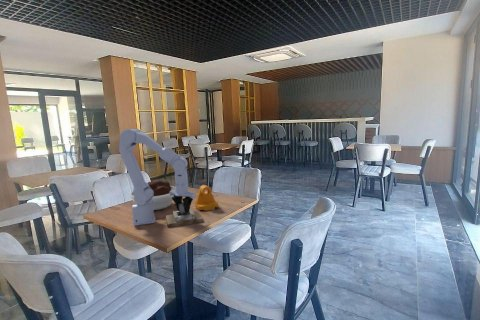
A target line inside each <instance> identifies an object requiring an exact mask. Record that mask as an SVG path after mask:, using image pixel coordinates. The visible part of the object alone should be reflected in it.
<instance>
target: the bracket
mask: <svg viewBox="0 0 480 320" xmlns="http://www.w3.org/2000/svg"><path fill="white" fill-rule="evenodd" d="M194 205H195V208H196V209H197V210H198V211H210V210H215V208H218V207H219V202H218V201H216V200H215V198H214V196H213V193H212V188H211V187H209V186H208V185H207V184H202V185H201V186H199V190H198V192H197V195H196V198H195V203H194Z"/></svg>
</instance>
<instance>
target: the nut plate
mask: <svg viewBox="0 0 480 320" xmlns="http://www.w3.org/2000/svg"><path fill="white" fill-rule="evenodd" d="M165 221H166V225H167V228H174V227H179V226H186V225H191V224H199V223H203V222H204V217H202V214H201V213H200V210H195V211H194V210H193V208H190V211H189V212H188V215H182V216H179V211H178V210H175V211H174V210H173V211H172V214H167V215H165Z"/></svg>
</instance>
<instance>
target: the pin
mask: <svg viewBox="0 0 480 320" xmlns="http://www.w3.org/2000/svg"><path fill="white" fill-rule="evenodd" d="M178 204H179V216H182V215H188V212H187V213H186V212H185V206H184V203H183V201H182V202H180V203H178Z"/></svg>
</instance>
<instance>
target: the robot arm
mask: <svg viewBox="0 0 480 320" xmlns="http://www.w3.org/2000/svg"><path fill="white" fill-rule="evenodd" d="M118 138H119V147H118V151H119V155H120V156H121V159H122V161H123V163H124V166H125V168H126V170H127V173H128V175H129V178H130V180H131V183H132V185H133V188H132V192H133V193H134V201H135V202H134V201H133V202H134V203H135V204H132V207H131V208H132V209H131V211H132V222H133V226H134V227H135V226H141V225H149V224H154V223H156V216H155V210H153V201H152V198H153V196H154V192H153V190H152V189H151V188H150V187H149V184H147V183H148V182H146V181H145V178H144V175H143V174H142V173H143V172H142V170H141V168H140V165H139V163H138V161H137V158H136V155H135V153H134V149H135V147H136V145H137V144H143V145H145V146H147V147H148V148H150V149H151V150H153V151H154V152H156V153H158V155H159V158H160V159H161V160H163V161H165V162H166V163H167V164H169V165H170V166H172V169H173V170H174V182H175V184H174V185H175V187H176V191H173V190H172V191H170V195H174V197H172V200H173V203H174V204H175V207H176V209H177V210H176V211H179V204H178V203H180V202H183V203H184V206H185V212H186V213H187V212H189V211H190V209H191V206H192V203H193V200H194V199H197V195H196V193H195V192H191V191H189V180H188V178H189V177H188V169H187V167H188V160H187V159H186V157H184V156H181V154H177V153H176V152H175V151H174V150H173V148H172V147H163V146H162V145H161V144H159V143H158V142H157V141H156V140H154V139H152V138H151V137H150V136H149V135H148V134H146V132H144V131H141V130H140V129H138V128H131V129H130V128H129V129H128V128H127V129H123V130H122V131H121V133H120V134H119V137H118Z"/></svg>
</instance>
